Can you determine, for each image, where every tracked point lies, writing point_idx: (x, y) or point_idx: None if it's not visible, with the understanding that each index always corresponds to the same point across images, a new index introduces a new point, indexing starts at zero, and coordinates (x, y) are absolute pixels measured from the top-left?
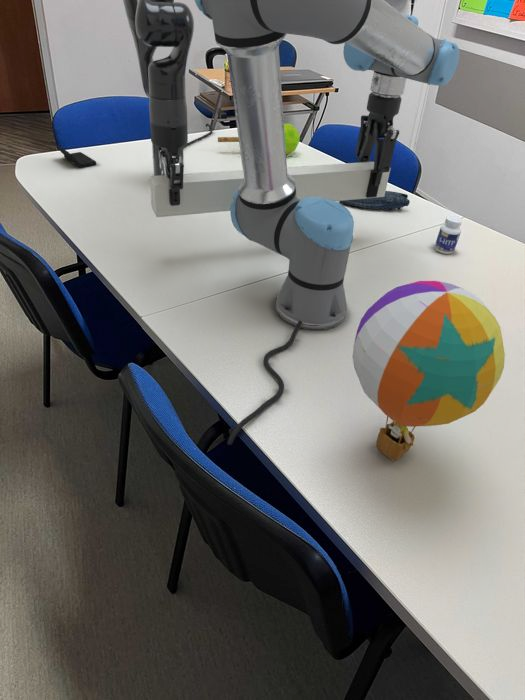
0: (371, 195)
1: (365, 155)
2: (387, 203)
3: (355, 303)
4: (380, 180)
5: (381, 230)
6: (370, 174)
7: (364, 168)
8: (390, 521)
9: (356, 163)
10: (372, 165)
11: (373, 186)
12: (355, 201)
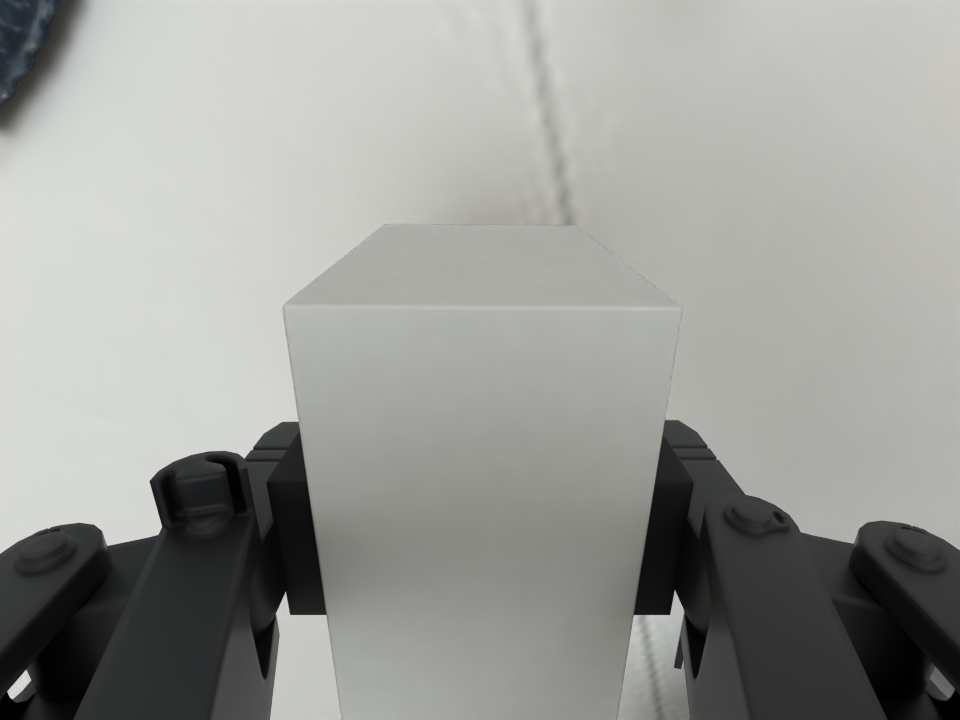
0: None
1: (261, 678)
2: None
3: (922, 525)
4: (712, 458)
5: (407, 49)
6: None
7: (571, 694)
8: None
9: (366, 701)
10: (486, 552)
11: None
12: (14, 42)
